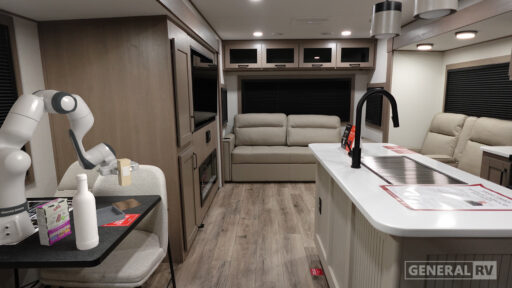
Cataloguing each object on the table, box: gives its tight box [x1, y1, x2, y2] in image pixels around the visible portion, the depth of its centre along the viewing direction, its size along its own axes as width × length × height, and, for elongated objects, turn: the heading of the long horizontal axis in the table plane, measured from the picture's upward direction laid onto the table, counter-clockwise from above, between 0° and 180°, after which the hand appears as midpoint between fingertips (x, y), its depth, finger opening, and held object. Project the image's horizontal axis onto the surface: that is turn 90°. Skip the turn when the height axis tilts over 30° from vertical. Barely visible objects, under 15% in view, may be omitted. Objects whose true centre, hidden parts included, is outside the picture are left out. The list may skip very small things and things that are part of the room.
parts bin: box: [96, 205, 126, 228], centre depth 142 cm, size 15×15×3 cm
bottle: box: [71, 173, 100, 251], centre depth 115 cm, size 8×8×30 cm
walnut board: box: [110, 198, 143, 212], centre depth 159 cm, size 12×12×1 cm
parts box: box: [116, 157, 132, 187], centre depth 156 cm, size 5×5×14 cm
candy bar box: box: [34, 197, 73, 247], centre depth 121 cm, size 11×5×16 cm, turn 168°
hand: (124, 171), depth 156 cm, fingers closed on parts box, 5 cm apart
